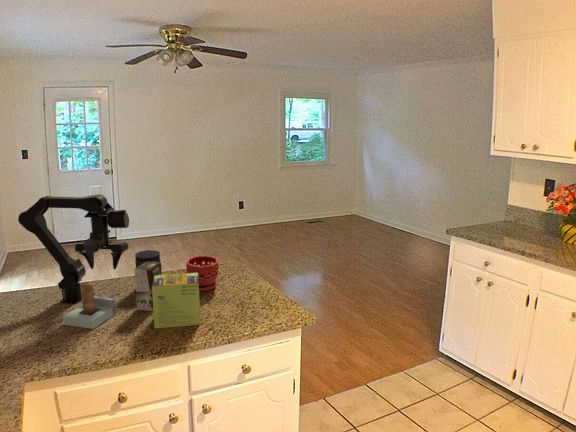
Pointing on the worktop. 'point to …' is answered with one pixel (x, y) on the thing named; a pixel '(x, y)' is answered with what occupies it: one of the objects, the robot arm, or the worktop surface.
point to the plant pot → (204, 271)
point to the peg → (88, 298)
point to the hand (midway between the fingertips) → (103, 268)
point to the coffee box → (146, 284)
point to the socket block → (103, 312)
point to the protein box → (176, 300)
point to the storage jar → (146, 257)
